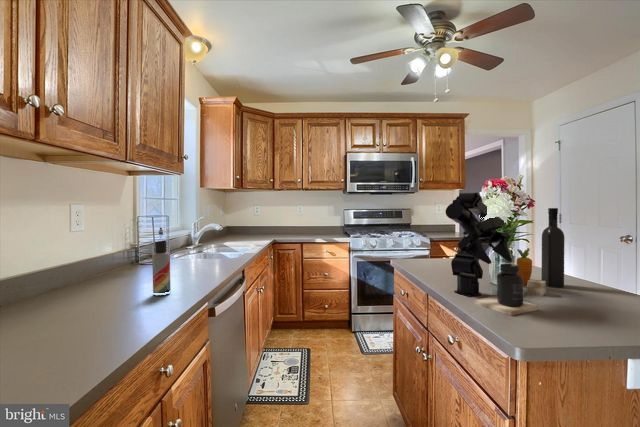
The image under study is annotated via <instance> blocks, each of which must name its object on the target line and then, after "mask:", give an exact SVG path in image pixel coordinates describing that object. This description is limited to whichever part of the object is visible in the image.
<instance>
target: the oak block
mask: <svg viewBox="0 0 640 427" xmlns="http://www.w3.org/2000/svg"><path fill="white" fill-rule="evenodd" d="M526 287H527V288H526V289H527V290H526V292H527V294H529V295H533V294H534V295H535V296H539V295H540V297H544V296H545V295H546V294H545V293H547V291H546V290H547V289H546V288H547V286H546V281H542V280H540V279H535V278H533V279H532V278H530V280H528V281H527V286H526ZM544 294H545V295H544Z"/></svg>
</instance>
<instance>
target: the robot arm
mask: <svg viewBox="0 0 640 427" xmlns="http://www.w3.org/2000/svg"><path fill="white" fill-rule="evenodd" d="M458 194H459V195H458V196H456V197H455V199H452V203H450V204H449V205H448V206H447V207H446V208H445V215H446V217H447V218H448V219H449V220H452V221H454V222H455V223H456V224H459V226H460V227H461V228H462V229H463V233H462V234H463V236H462V237H461V239H460V240H459V241H458V242H457V248H458V249H459V250H458V251H457V252H456V253H455V254H454V257H453V258H452V260H451V262H450V264H451V272H452V275H453V276H457V280H456V282H457V283H456V286H457V288H456V290H453V292H454V293H456V294H460V295H462V296H465V297H473V296H480V295H482V292H481V291H480V282H479V279H480V280H482V279H483V276H484V270H483V268H482V266H481V264H480V261H481V262H484V263H486V264H487V265H490V264H492V260H491V257H489V255H488V254H487V250H488V249H489V248H492V249H491V250H492V251H494V252H495V253H496V254H497V255H498V256H500V257H502V258H503V259H504V260H506V261H507V262H509V263H510V262H511V261H513V259H512V256H511V254H510V253H511V252H510V250H509V248H508V242H509V241H510V239H511V238H512V237H511V235H510V234H509V233H508V232H505V231H504V232H497V231H495V230H496V229H498V228H502V227H503V228H504V225H505V221H504V219H502V218H501V217H500V216H496V217H495V218H489V219H487V220H484V218H483V217H485V216H486V215H487V207H488V206H487V204H485V203H483V197H482V196H481V194H480V193H479V192H460V193H458ZM475 215H476V216H477V217H479V215H480V218H481V217H482V218H483V219H482V218H481V219H482V220H481V219H480V218H479V219H478V218H477V217H476V216H475Z"/></svg>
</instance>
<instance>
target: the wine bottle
mask: <svg viewBox="0 0 640 427" xmlns="http://www.w3.org/2000/svg"><path fill="white" fill-rule="evenodd" d="M547 210H548V211H547V213H548V226H547V227H546V228H545V229H543V231H542V233H541V280H542V281H546V287H548V288H565V233H564V231H563V230H562V229H561V228H560V227H558V215H559V208H558V207H549V208H547Z"/></svg>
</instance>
